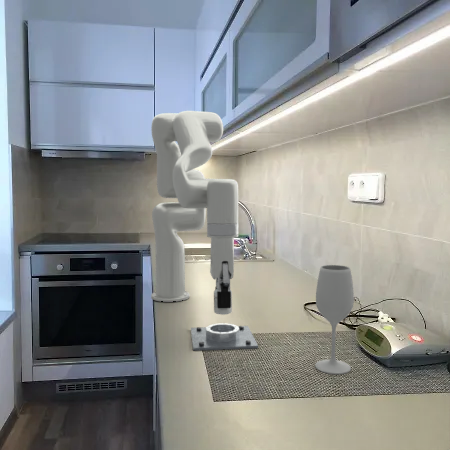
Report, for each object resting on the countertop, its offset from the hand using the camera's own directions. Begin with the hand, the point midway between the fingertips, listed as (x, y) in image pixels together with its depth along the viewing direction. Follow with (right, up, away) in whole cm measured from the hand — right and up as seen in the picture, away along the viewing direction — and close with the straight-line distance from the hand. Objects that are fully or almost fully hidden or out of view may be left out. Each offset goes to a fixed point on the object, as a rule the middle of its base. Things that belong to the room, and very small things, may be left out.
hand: (222, 304), depth 113 cm
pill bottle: (0, -2, 0) cm, 2 cm away
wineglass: (+23, -10, -17) cm, 30 cm away
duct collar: (0, -9, +1) cm, 9 cm away
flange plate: (0, -9, +1) cm, 9 cm away
